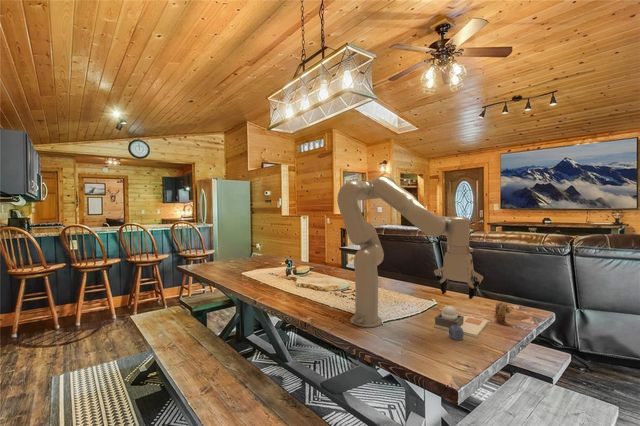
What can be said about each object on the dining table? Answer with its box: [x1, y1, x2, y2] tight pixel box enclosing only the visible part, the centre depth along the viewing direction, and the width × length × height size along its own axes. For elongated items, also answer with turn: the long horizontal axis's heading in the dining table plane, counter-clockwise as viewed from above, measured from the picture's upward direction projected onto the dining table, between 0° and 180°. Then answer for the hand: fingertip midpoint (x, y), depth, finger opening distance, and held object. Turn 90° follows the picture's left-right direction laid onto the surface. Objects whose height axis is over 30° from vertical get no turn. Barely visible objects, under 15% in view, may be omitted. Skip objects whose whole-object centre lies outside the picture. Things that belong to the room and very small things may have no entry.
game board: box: [434, 311, 489, 338], centre depth 134 cm, size 18×16×4 cm
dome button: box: [441, 305, 458, 321], centre depth 132 cm, size 6×6×6 cm
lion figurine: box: [493, 301, 512, 324], centre depth 140 cm, size 15×5×9 cm, turn 164°
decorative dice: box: [448, 326, 465, 341], centre depth 122 cm, size 4×4×4 cm
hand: (457, 295), depth 121 cm, fingers open, 9 cm apart
